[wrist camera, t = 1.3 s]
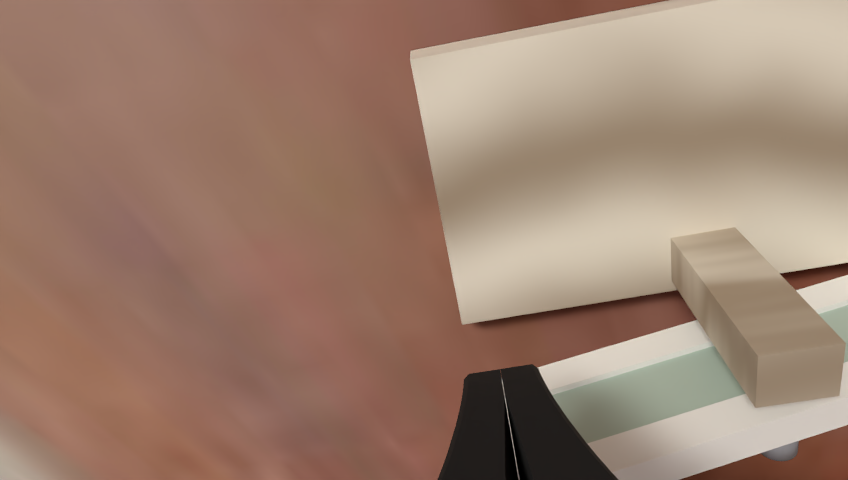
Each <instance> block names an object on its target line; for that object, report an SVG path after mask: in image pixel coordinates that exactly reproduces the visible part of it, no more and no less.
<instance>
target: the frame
mask: <svg viewBox="0 0 848 480" xmlns="http://www.w3.org/2000/svg"><path fill="white" fill-rule="evenodd" d="M796 291H797V292H798V293H799V294H800V296H801V297H802V298H803V299H804V300H805V301H806V302H807V303H808V304H809V305H810V306H811V307H812V308H813V309H814V310H815V311H816V312H817V313H818V314H819V315H820V316H821V317H822V319H823V320H824V321H825V322H826V323H827V324H828V325H829V326H830V327H831V328H832V329H833V330H834V331H835V332H836V333H837V334H838V335H839V336H840V337H841V338H842V339H843V341H844V342H845V343H846V347H845V355H844V363H843V371H842V379H841V387H840V395H839V396H835V397H829V398H822V399H815V400H808V401H801V402H794V403H787V404H781V405H774V406H767V407H760V408H755V407H754V405H753V404H752V402H751V401H750V399H749V398H748V396H747V395H746V393H745V392H744V390H743V389H742V387H741V385H740V384H739V382H738V381H737V379H736V378H735V376H734V375H733V373H732V372H731V370H730V369H729V367H728V366H727V364H726V363H725V361H724V360H723V358H722V357H721V355H720V354H719V352H718V350H717V349H716V347H715V346H714V344H713V343H712V341H711V340H710V338H709V337H708V335H707V334H706V332H705V331H704V329H703V328H702V326H701V325H700V323H699V322H698V320H695V321H692V322H689V323H685V324H682V325H679V326H675V327H672V328H669V329H665V330H662V331H659V332H655V333H652V334H649V335H645V336H642V337H639V338H635V339H632V340H629V341H625V342H622V343H618V344H615V345H612V346H608V347H605V348H602V349H598V350H595V351H592V352H588V353H585V354H582V355H578V356H575V357H572V358H568V359H565V360H562V361H558V362H555V363H552V364H548V365H545V366H542V367H538V369H539V371H540V374H541V376H542V378H543V380H544V382H545V384H546V385H547V387H548V389H549V391H550V392H551V394H552V396H553V397H554V399H555V400H556V402H557V403H558V405H559V406H560V408H561V409H562V411H563V412H564V414H565V415H566V416H567V418H568V419H569V421H570V422H571V423H572V425H573V426H574V427H575V428H576V430H577V431H578V432H579V434H580V435H581V436H582V438H583V439H584V440H585V442H586V443H587V444H588V445H589V446H590V448H591V449H592V450H593V451H594V453H595V454H596V455H597V456H598V457H599V458H600V460H601V461H602V462H603V463H604V464H605V465H606V466H607V467H608V469H609V470H610V471H611V472H612V473H613V474H614V475H615V476H616V477H617V479H618V480H680V479H683V478H686V477H689V476H692V475H695V474H698V473H701V472H704V471H707V470H710V469H713V468H716V467H719V466H723V465H726V464H729V463H732V462H735V461H738V460H741V459H744V458H747V457H750V456H753V455H756V454H759V453H761V454H762V455H764V456H765V457H767V458H769V459H772V460H776V461H787V460H790V459H793V458H794V457H795V456H796V455H797V452H798V442H799V440H802V439H805V438H808V437H812V436H815V435H818V434H821V433H824V432H827V431H830V430H833V429H836V428H839V427H842V426H845V425H848V275H846V276H843V277H839V278H836V279H833V280H829V281H826V282H823V283H819V284H816V285H813V286H809V287H806V288H803V289H799V290H796ZM502 384H503V381H502ZM503 390H504V387H503ZM504 396H505V393H504ZM505 402H506V399H505ZM506 407H507V405H506ZM507 413H508V411H507ZM508 419H509V417H508ZM509 425H510V422H509ZM510 431H511V428H510ZM511 437H512V434H511ZM512 442H513V440H512ZM513 448H514V446H513ZM514 454H515V452H514ZM515 460H516V457H515ZM516 466H517V463H516ZM517 472H518V469H517ZM518 477H519V475H518Z"/></svg>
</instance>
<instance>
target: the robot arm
mask: <svg viewBox="0 0 848 480" xmlns="http://www.w3.org/2000/svg"><path fill="white" fill-rule="evenodd" d="M500 370H501V373H500ZM501 376H502V378H501ZM502 381H503V384H502ZM503 387H504V390H503ZM504 393H505V396H504ZM505 399H506V402H505ZM506 405H507V407H506ZM507 411H508V413H507ZM508 417H509V419H508ZM509 422H510V425H509ZM510 428H511V431H510ZM511 434H512V437H511ZM512 440H513V442H512ZM513 446H514V448H513ZM514 452H515V454H514ZM515 457H516V460H515ZM516 463H517V466H516ZM517 469H518V472H517ZM518 475H519V477H518ZM438 480H618V479H617V477H616V476H615V475H614V474H613V473H612V472H611V471H610V470H609V469H608V467H607V466H606V465H605V464H604V463H603V462H602V461H601V460H600V458H599V457H598V456H597V455H596V454H595V453H594V451H593V450H592V449H591V448H590V446H589V445H588V444H587V443H586V442H585V440H584V439H583V438H582V436H581V435H580V434H579V432H578V431H577V430H576V428H575V427H574V426H573V425H572V423H571V422H570V421H569V419H568V418H567V416H566V415H565V414H564V412H563V411H562V409H561V408H560V406H559V405H558V403H557V402H556V400H555V399H554V397H553V396H552V394H551V392H550V391H549V389H548V387H547V385H546V384H545V382H544V380H543V378H542V376H541V374H540V371H539V369H538V368H537V367H535V366H534V365H532V364H531V365H524V366H518V367H511V368H505V369H498V370H492V371H486V372H479V373H473V374H469V375H468V376H467V377H466V378H465V379H464V388H463V395H462V401H461V406H460V411H459V415H458V419H457V423H456V427H455V430H454V433H453V437H452V440H451V443H450V447H449V450H448V453H447V456H446V459H445V462H444V465H443V467H442V470H441V472H440V475H439V478H438Z"/></svg>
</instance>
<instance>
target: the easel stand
mask: <svg viewBox="0 0 848 480" xmlns="http://www.w3.org/2000/svg"><path fill="white" fill-rule="evenodd" d="M410 61H411V67H412V72H413V77H414V82H415V87H416V92H417V97H418V102H419V107H420V112H421V117H422V123H423V128H424V133H425V138H426V143H427V148H428V153H429V158H430V163H431V168H432V173H433V179H434V184H435V189H436V194H437V199H438V204H439V209H440V214H441V219H442V224H443V229H444V235H445V240H446V245H447V250H448V255H449V260H450V265H451V270H452V275H453V280H454V285H455V290H456V296H457V301H458V306H459V311H460V316H461V321H462V325H463V324H469V323H475V322H482V321H488V320H494V319H500V318H506V317H513V316H519V315H525V314H531V313H538V312H544V311H550V310H556V309H562V308H569V307H575V306H581V305H587V304H594V303H600V302H606V301H612V300H618V299H625V298H631V297H637V296H643V295H649V294H656V293H662V292H668V291H674V290H678V291H679V293H680V294H681V296H682V297H683V299H684V300H685V302H686V303H687V305H688V306H689V308H690V309H691V311H692V312H693V314H694V316H695V317H696V319H697V320H698V322H699V323H700V325H701V326H702V328H703V329H704V331H705V332H706V334H707V335H708V337H709V338H710V340H711V341H712V343H713V344H714V346H715V347H716V349H717V350H718V352H719V354H720V355H721V357H722V358H723V360H724V361H725V363H726V364H727V366H728V367H729V369H730V370H731V372H732V373H733V375H734V376H735V378H736V379H737V381H738V382H739V384H740V385H741V387H742V389H743V390H744V392H745V393H746V395H747V396H748V398H749V399H750V401H751V402H752V404H753V405H754V407H755V408H760V407H767V406H774V405H781V404H787V403H794V402H801V401H808V400H815V399H822V398H829V397H835V396H839V395H840V387H841V379H842V371H843V363H844V355H845V347H846V343H845V342H844V341H843V339H842V338H841V337H840V336H839V335H838V334H837V333H836V332H835V331H834V330H833V329H832V328H831V327H830V326H829V325H828V324H827V323H826V322H825V321H824V320H823V319H822V317H821V316H820V315H819V314H818V313H817V312H816V311H815V310H814V309H813V308H812V307H811V306H810V305H809V304H808V303H807V302H806V301H805V300H804V299H803V298H802V297H801V296H800V294H799V293H798V292H797V291H796V290H795V289H794V288H793V287H792V286H791V285H790V284H789V283H788V282H787V281H786V280H785V279H784V278H783V277H782V276H781V275H780V273H786V272H792V271H799V270H805V269H811V268H817V267H824V266H830V265H836V264H842V263H848V0H669V1H664V2H658V3H653V4H648V5H643V6H638V7H633V8H628V9H623V10H617V11H612V12H607V13H602V14H597V15H592V16H587V17H581V18H576V19H571V20H566V21H561V22H556V23H551V24H546V25H540V26H535V27H530V28H525V29H520V30H515V31H510V32H504V33H499V34H494V35H489V36H484V37H479V38H474V39H469V40H463V41H458V42H453V43H448V44H443V45H438V46H433V47H427V48H422V49H417V50H412V51H411V53H410Z"/></svg>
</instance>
